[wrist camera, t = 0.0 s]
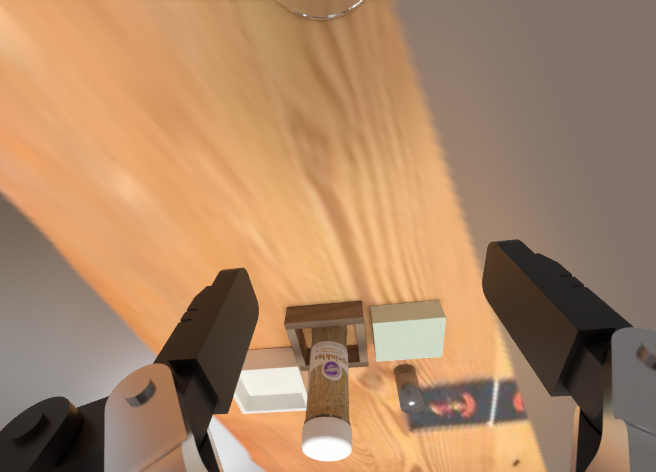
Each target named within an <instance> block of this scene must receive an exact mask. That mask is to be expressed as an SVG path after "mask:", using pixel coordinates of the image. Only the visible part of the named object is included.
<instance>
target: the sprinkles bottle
mask: <svg viewBox="0 0 656 472" xmlns="http://www.w3.org/2000/svg"><path fill="white" fill-rule="evenodd" d="M346 336H347V329H346V327H345V325H338V326H326V327H314V328H312V347H311V352H310V365H309V376H308V388H307V406H306V420H305V422H304V426H303V431H302V444H301V446H302V451H303V452H304V454H305V455H307V456H308V457H310V458H313V459H315V460H320V461H337V460H341V459H344V458H346V457H347V456H348V455H349V454H350V453H351V451H352V429H351V425H350V422H349V392H348V391H349V390H348V375H349V374H348V352H347V340H346Z"/></svg>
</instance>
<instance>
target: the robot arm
mask: <svg viewBox="0 0 656 472" xmlns="http://www.w3.org/2000/svg"><path fill="white" fill-rule="evenodd" d="M276 1H277V2H278V3H280V4H281V5H282V6H283V7H285V8H286V9H287V10H288V11H290V12H292V13H294V14H296V15H298V16H300V17H302V18H306V19H311V20H315V21H320V20H332V19H335V18H338V17H341V16H344V15H346V14H347V13H349V12H351V11H352V10H354V9H356V8H357V7H358V6H359V5H360V4H361V3H362V2H363V1H364V0H276ZM482 287H483V292H484V295H485V297H486V299H487V301H488V302H489V304H490V305H491V307H492V308H493V310H494V312H495V313H496V315H497V316H498V318H499V319H500V321H501V322H502V323H503V325H504V327H505V328H506V330H507V331H508V333H509V334H510V336H511V337H512V339H513V340H514V342H515V343H516V345H517V346H518V348H519V349H520V350H521V352H522V354H523V355H524V357H525V358H526V360H527V361H528V363H529V364H530V366H531V367H532V369H533V370H534V372H535V373H536V375H537V376H538V378H539V379H540V381H541V382H542V384H543V385H544V387H545V388H546V390H547V391H548V393H549V394H550V395H551V396H572V398H573V399H574V400H575V402H576V403H577V404H578V405H577V407H576V409H575V413H574V424H573V437H572V451H571V462H570V472H656V331H653V330H650V329H644V328H634V327H633V326H632V325H631V324H629V323H628V322H627V321H626V320H625V319H624V318H622V317H621V316H620V315H619V314H618V313H617V312H615V311H614V310H613V309H612V308H610V306H608V305H607V304H606V303H605V302H604V301H603V300H601V299H600V298H599V297H598V296H597V295H596V294H594V293H593V292H592V291H591V290H590V289H588V288H587V287H584V285H583V283H581V282H580V281H579V280H578V279H577V278H576V277H572V274H571V273H570V272H568V271H567V270H566V269H565V268H563V266H562V265H560V264H559V263H558V262H556V261H554V260H552V259H550V258H548V257H546V256H544V255H541V254H539V253H538V254H534V252H532V251H531V250H530V249H529V248H528V247H527V246H526V245H525V244H524V243H523V242H521V241H520V240H517V239H516V240H506V241H497V242H491V243H490V244H489V245H488V248H487V254H486V260H485V267H484V273H483V279H482ZM258 315H259V306H258V301H257V298H256V295H255V293H254V290H253V287H252V284H251V281H250V278H249V276H248V273H247V271H246V269H245V268H236V269H227V270H221V271H220V272H219V274H218V275H217V277H216V279H215V280H214V282H213V284H212V286H207V287H206V288H205V289H203V290H202V291H201V292H200V293H199V294H198V295H197V296H196V297H195V298H194V299H193V301H192V302H191V304H190V306H189V307H188V309H187V312H185V314H184V315H183V317H182V318H181V322H180V323H178V325H177V326H176V328H175V329H174V331H173V333H172V334H171V336H170V337H169V339H168V341H167V342H166V344H165V345H164V347H163V348H162V350H161V352H160V353H159V355H158V356H157V358H156V360H155V361H154V363H153V364H151V365H147V366H145V367H142V368H140V369H138V370H136V371H134V372H133V373H131V374H130V375H128V376H127V377H126V378H125V379H123V380H122V381H121V382H120V383H119V384H118V385H117V386H116V388H115V389H114V390H113V391H112V393H111V394H110V396H108V397H106V398H103V399H100V400H97V401H94V402H91V403H89V404H86V405H83V406H80V407H77V408H76V407H75V406H73V404H72V403H71V402H70V401H69V400H68V399H66V398H64V397H52V398H49V399H46V400H43V401H41V402H39V403H37V404H35V405H33V406H31V407H30V408H28V409H27V410H25V411H23V412H22V413H21V414H19V415H18V416H17V417H15V418H14V419H13V420H12V421H11V422H10V423H8V424H7V425H6V426H5V427H4V428H3V429H2V430H1V431H0V472H223V468H222V465H221V462H220V459H219V456H218V453H217V450H216V447H215V443H214V440H213V437H212V434H211V431H210V429H209V428H208V426H209V423H210V421H211V418H212V415H213V414H228V412H229V409H230V405H231V402H232V399H233V396H234V393H235V390H236V387H237V383H238V380H239V377H240V374H241V371H242V368H243V364H244V361H245V358H246V355H247V352H248V349H249V346H250V342H251V339H252V336H253V333H254V330H255V327H256V323H257V320H258Z"/></svg>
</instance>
